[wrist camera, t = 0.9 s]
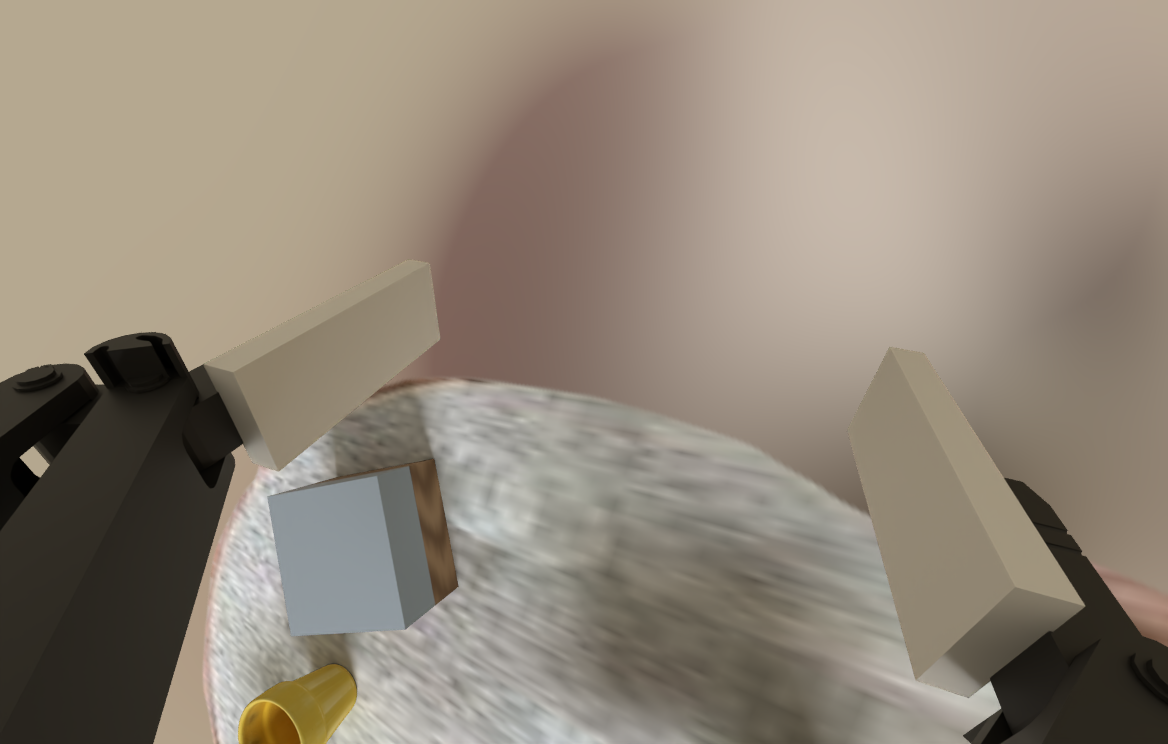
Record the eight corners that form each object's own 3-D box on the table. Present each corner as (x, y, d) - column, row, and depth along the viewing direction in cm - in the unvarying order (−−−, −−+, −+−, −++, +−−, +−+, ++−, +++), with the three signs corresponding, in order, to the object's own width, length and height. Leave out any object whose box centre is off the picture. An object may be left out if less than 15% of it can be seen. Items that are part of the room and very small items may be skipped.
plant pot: (374, 666, 59) (309, 722, 50) (362, 739, 60) (295, 807, 50) (315, 637, 62) (243, 684, 53) (304, 706, 63) (231, 765, 53)
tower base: (460, 585, 55) (435, 605, 51) (359, 594, 60) (328, 613, 55) (436, 458, 56) (409, 466, 52) (339, 476, 61) (306, 485, 56)
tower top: (435, 605, 51) (405, 629, 46) (328, 613, 55) (291, 636, 51) (409, 466, 52) (376, 475, 47) (306, 485, 56) (267, 496, 52)
